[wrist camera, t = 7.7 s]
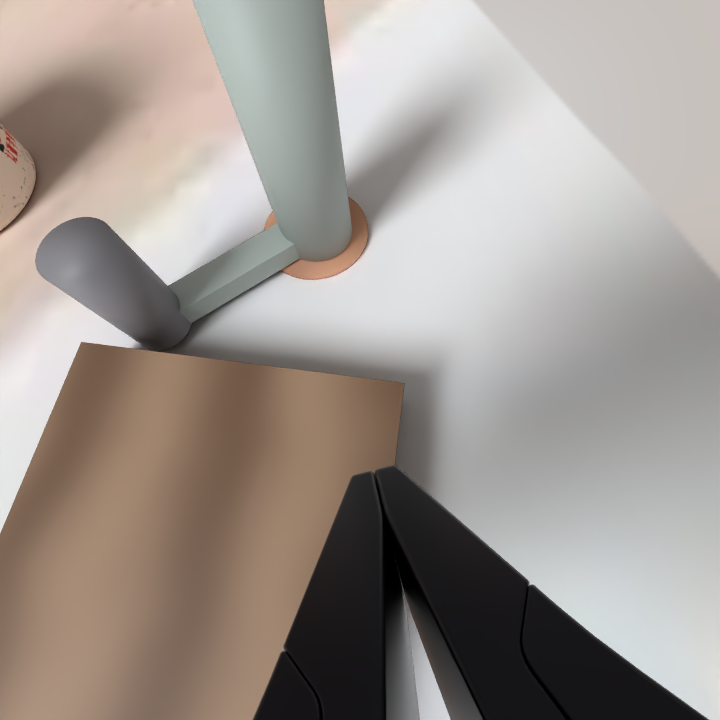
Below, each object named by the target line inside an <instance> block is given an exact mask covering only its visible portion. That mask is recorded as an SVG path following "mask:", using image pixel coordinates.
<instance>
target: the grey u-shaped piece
mask: <svg viewBox="0 0 720 720" xmlns="http://www.w3.org/2000/svg"><path fill="white" fill-rule="evenodd" d="M193 3H194V6H195V8H196V11H197V13H198V16H199V19H200V21H201V24H202V27H203V29H204V32H205V34H206V37H207V40H208V42H209V45H210V48H211V50H212V53H213V55H214V58H215V61H216V63H217V66H218V68H219V71H220V74H221V76H222V79H223V82H224V84H225V87H226V89H227V92H228V95H229V97H230V100H231V103H232V105H233V108H234V110H235V113H236V116H237V118H238V121H239V124H240V126H241V129H242V131H243V134H244V137H245V139H246V142H247V145H248V147H249V150H250V152H251V155H252V158H253V160H254V163H255V165H256V168H257V171H258V173H259V176H260V179H261V181H262V184H263V186H264V189H265V192H266V194H267V197H268V200H269V202H270V205H271V207H272V210H273V213H274V215H275V218H276V221H277V223H276V224H275V225H273V226H271V227H270V228H268V229H266V230H264V231H263V232H261V233H259V234H257V235H256V236H254V237H252V238H250V239H249V240H247V241H245V242H243V243H242V244H240V245H238V246H237V247H235V248H233V249H231V250H230V251H228V252H226V253H224V254H223V255H221V256H219V257H217V258H216V259H214V260H212V261H211V262H209V263H207V264H205V265H204V266H202V267H200V268H198V269H197V270H195V271H193V272H191V273H190V274H188V275H186V276H184V277H183V278H181V279H179V280H178V281H176V282H174V283H172V284H171V285H169V286H167V285H166V284H165V283H164V282H163V281H162V280H161V279H160V278H159V277H158V276H157V275H156V274H155V273H154V272H153V271H152V270H151V269H150V267H149V266H148V265H147V264H146V263H145V262H144V261H143V260H142V259H141V258H140V257H139V256H138V255H137V254H136V253H135V252H134V251H133V250H132V249H131V248H130V247H129V246H128V245H127V244H126V243H125V242H124V241H123V240H122V239H121V238H120V237H119V236H118V235H117V234H116V233H115V232H114V231H113V230H112V229H111V228H110V227H109V226H108V225H107V224H106V223H105V222H104V221H102V220H100V219H97V218H92V217H81V218H75V219H72V220H69V221H66V222H64V223H62V224H60V225H59V226H57V227H56V228H54V229H53V230H52V231H51V232H49V233H48V234H47V236H46V237H45V238H44V239H43V240H42V242H41V244H40V245H39V248H38V250H37V253H36V260H35V262H36V267H37V270H38V272H39V274H40V275H41V276H42V277H43V278H44V279H46V280H47V281H49V282H50V283H52V284H53V285H55V286H56V287H57V288H59V289H60V290H62V291H63V292H65V293H66V294H68V295H69V296H71V297H72V298H74V299H75V300H77V301H78V302H80V303H81V304H83V305H84V306H86V307H87V308H89V309H90V310H92V311H93V312H95V313H96V314H97V315H99V316H100V317H102V318H103V319H105V320H106V321H108V322H109V323H111V324H112V325H114V326H115V327H117V328H118V329H120V330H121V331H123V332H124V333H126V334H127V335H129V336H130V337H132V338H133V339H135V340H136V341H137V342H139V343H140V344H142V345H143V346H145V347H147V348H149V349H153V350H164V349H168V348H170V347H173V346H175V345H176V344H178V343H179V342H180V341H182V340H183V338H184V337H185V336H186V335H187V333H188V332H189V329H190V327H191V323H193V322H194V321H196V320H198V319H199V318H201V317H203V316H204V315H206V314H208V313H209V312H211V311H213V310H214V309H216V308H218V307H219V306H221V305H223V304H224V303H226V302H228V301H229V300H231V299H233V298H234V297H236V296H238V295H239V294H241V293H243V292H244V291H246V290H248V289H249V288H251V287H253V286H255V285H256V284H258V283H260V282H261V281H263V280H265V279H266V278H268V277H270V276H271V275H273V274H275V273H276V272H278V271H280V270H281V269H283V268H285V267H286V266H288V265H290V264H291V263H293V262H295V261H296V260H298V259H302V260H305V261H310V262H320V261H325V260H329V259H331V258H333V257H335V256H337V255H338V254H340V253H341V252H342V251H343V250H344V249H345V248H346V247H347V245H348V244H349V242H350V240H351V236H352V225H351V217H350V209H349V201H348V193H347V185H346V176H345V168H344V160H343V152H342V144H341V136H340V128H339V120H338V112H337V104H336V96H335V88H334V80H333V72H332V64H331V56H330V48H329V40H328V32H327V24H326V15H325V7H324V0H193Z"/></svg>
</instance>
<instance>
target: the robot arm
mask: <svg viewBox="0 0 720 720" xmlns="http://www.w3.org/2000/svg"><path fill="white" fill-rule="evenodd" d="M397 566H398V567H397ZM398 570H399V571H398ZM399 574H400V575H399ZM400 578H401V579H400ZM401 582H402V584H401ZM402 586H403V589H404V593H405V596H406V599H407V602H408V605H409V608H410V611H411V613H412V616H413V619H414V621H415V624H416V627H417V630H418V632H419V635H420V638H421V640H422V643H423V646H424V648H425V651H426V654H427V657H428V659H429V662H430V665H431V667H432V670H433V673H434V675H435V678H436V681H437V684H438V686H439V689H440V692H441V694H442V697H443V700H444V702H445V705H446V708H447V711H448V713H449V716H450V719H451V720H709V719H707V718H706V717H704V716H703V715H702V714H700V713H699V712H698V711H696V710H695V709H693V708H692V707H691V706H689V705H688V704H686V703H685V702H684V701H682V700H681V699H679V698H678V697H677V696H675V695H674V694H672V693H671V692H670V691H668V690H667V689H666V688H664V687H663V686H661V685H660V684H659V683H657V682H656V681H654V680H653V679H652V678H650V677H649V676H647V675H646V674H645V673H643V672H642V671H641V670H639V669H638V668H637V667H635V666H634V665H633V664H631V663H630V662H629V661H627V660H626V659H624V658H623V657H622V656H620V655H619V654H618V653H616V652H615V651H614V650H612V649H611V648H610V647H608V646H607V645H606V644H604V643H603V642H602V641H600V640H599V639H598V638H596V637H595V636H594V635H593V634H591V633H590V632H589V631H588V630H586V629H585V628H584V627H583V626H582V625H580V624H579V623H578V622H577V621H576V620H574V619H573V618H572V617H571V616H569V615H568V614H567V613H566V612H565V611H563V610H562V609H561V608H560V607H559V606H557V605H556V604H555V603H554V602H553V601H552V600H550V599H549V598H548V597H547V596H546V595H545V594H544V593H542V592H541V591H540V590H539V589H538V588H537V587H536V586H534V585H530V584H529V581H528V580H527V579H526V578H525V577H524V576H523V575H521V574H520V573H519V572H518V571H517V570H516V569H515V568H513V567H512V566H511V565H510V564H509V563H508V562H506V561H505V560H504V559H503V558H502V557H501V556H500V555H498V554H497V553H496V552H495V551H494V550H493V549H492V548H490V547H489V546H488V545H487V544H486V543H485V542H484V541H482V540H481V539H480V538H479V537H478V536H477V535H475V534H474V533H473V532H472V531H471V530H470V529H469V528H467V527H466V526H465V525H464V524H463V523H462V522H461V521H459V520H458V519H457V518H456V517H455V516H454V515H452V514H451V513H450V512H449V511H448V510H447V509H446V508H444V507H443V506H442V505H441V504H440V503H439V502H438V501H436V500H435V499H434V498H433V497H432V496H431V495H429V494H428V493H427V492H426V491H425V490H424V489H423V488H421V487H420V486H419V485H418V484H417V483H416V482H415V481H413V480H412V479H411V478H410V477H409V476H408V475H407V474H405V473H404V472H403V471H402V470H401V469H400V468H398V467H397V466H396V465H390V466H386V467H383V468H379V469H376V470H375V474H374V472H373V471H367V472H363V473H359V474H355V475H353V476H352V477H351V479H350V482H349V484H348V487H347V489H346V492H345V494H344V497H343V499H342V502H341V504H340V507H339V509H338V512H337V514H336V517H335V519H334V522H333V524H332V527H331V529H330V532H329V534H328V537H327V539H326V542H325V544H324V546H323V549H322V551H321V554H320V556H319V559H318V561H317V564H316V566H315V569H314V571H313V574H312V576H311V579H310V581H309V584H308V586H307V589H306V591H305V594H304V596H303V599H302V601H301V604H300V606H299V609H298V611H297V614H296V616H295V619H294V621H293V624H292V626H291V628H290V631H289V633H288V636H287V638H286V641H285V643H284V646H283V648H284V651H282V652H281V653H280V655H279V658H278V660H277V663H276V665H275V668H274V670H273V673H272V675H271V678H270V680H269V683H268V685H267V687H266V690H265V692H264V694H263V697H262V699H261V701H260V704H259V706H258V708H257V710H256V713H255V715H254V717H253V720H420V717H419V709H418V701H417V693H416V685H415V677H414V669H413V661H412V653H411V645H410V637H409V629H408V621H407V613H406V606H405V599H404V593H403V589H402Z"/></svg>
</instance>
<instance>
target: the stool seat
mask: <svg viewBox="0 0 720 720" xmlns="http://www.w3.org/2000/svg"><path fill="white" fill-rule="evenodd" d="M348 201H349V209H350V217H351V225H352V236H351V240H350V242H349V244H348V245H347V247H346V248H345V249H344V250H343V251H342V252H341V253H340V254H338V255H337V256H335V257H333V258H331V259H329V260H325V261H320V262H310V261H305V260H302V259H298V260H296V261H295V262H293V263H291V264H290V265H288V266H286V267H285V268H283V269H281V271H283V272H284V273H286V274H288V275H290V276H293V277H296V278H300V279H308V280H315V279H323V278H328V277H331V276H334V275H337V274H339V273H341V272H343V271H344V270H346V269H347V268H349V267H350V266H351V265H352V264H354V263H355V262H356V261H357V259H358V258H359V257H360V256H361V254H362V252H363V251H364V248H365V246H366V243H367V238H368V227H367V221H366V217H365V215H364V213H363V211H362V209H361V208H360V207H359V205H358V204H357V203H356V202H355V201H353V200H352V199H351V198H349V197H348ZM276 223H277V221H276V218H275V215H274V213H273V211H272V213H271V214H270V216H269V217H268V219H267V221H266V224H265V227H264V230H266V229H268V228H270V227H271V226H273V225H275V224H276ZM403 392H404V383H399V382H391V381H384V380H376V379H368V378H360V377H352V376H344V375H336V374H329V373H321V372H313V371H305V370H297V369H289V368H281V367H273V366H266V365H258V364H250V363H242V362H234V361H226V360H218V359H211V358H203V357H195V356H187V355H179V354H171V353H163V352H156V351H148V350H140V349H132V348H124V347H116V346H108V345H100V344H93V343H85V342H81V344H80V346H79V349H78V351H77V353H76V356H75V358H74V360H73V363H72V365H71V368H70V370H69V372H68V375H67V377H66V379H65V382H64V384H63V386H62V389H61V391H60V394H59V396H58V398H57V401H56V403H55V405H54V408H53V410H52V413H51V415H50V417H49V420H48V422H47V424H46V427H45V429H44V431H43V434H42V436H41V439H40V441H39V443H38V446H37V448H36V450H35V453H34V455H33V457H32V460H31V462H30V465H29V467H28V469H27V472H26V474H25V476H24V479H23V481H22V484H21V486H20V488H19V491H18V493H17V495H16V498H15V500H14V502H13V505H12V507H11V510H10V512H9V514H8V517H7V519H6V521H5V524H4V526H3V529H2V531H1V533H0V720H253V717H254V715H255V713H256V710H257V708H258V706H259V704H260V701H261V699H262V697H263V694H264V692H265V690H266V687H267V685H268V683H269V680H270V678H271V675H272V673H273V670H274V668H275V665H276V663H277V660H278V658H279V655H280V653H281V652H282V651H284V648H283V646H284V643H285V641H286V638H287V636H288V633H289V631H290V628H291V626H292V624H293V621H294V619H295V616H296V614H297V611H298V609H299V606H300V604H301V601H302V599H303V596H304V594H305V591H306V589H307V586H308V584H309V581H310V579H311V576H312V574H313V571H314V569H315V566H316V564H317V561H318V559H319V556H320V554H321V551H322V549H323V546H324V544H325V542H326V539H327V537H328V534H329V532H330V529H331V527H332V524H333V522H334V519H335V517H336V514H337V512H338V509H339V507H340V504H341V502H342V499H343V497H344V494H345V492H346V489H347V487H348V484H349V482H350V479H351V477H352V476H353V475H355V474H359V473H363V472H367V471H373V472H374V474H375V470H376V469H379V468H383V467H386V466H390V465H395V458H396V450H397V441H398V433H399V425H400V417H401V408H402V400H403Z"/></svg>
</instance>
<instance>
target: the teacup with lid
mask: <svg viewBox="0 0 720 720" xmlns="http://www.w3.org/2000/svg"><path fill="white" fill-rule="evenodd" d="M35 180H36V169H35V164H34V162H33V159H32V157H31V155H30V154H29V152H28V151H27V150H26V149H25V148H24V147H23V146H22V145H21V144H20V143H19V142H18V141H17V140H16V139H15V138H14V137H13V136H12V135H11V134H10V133H9V132H8V131H7V130H6V129H5V128H4V127H3V126H2V125H1V124H0V231H1V230H2V229H3V228H5V227H6V226H7V225H8V224H9V223H10V222H11V221H13V220H14V219H15V218H16V216H17V215H18V214H19V213H20V212H21V211H22V209H23V208H24V207H25V205H26V204H27V202H28V200H29V198H30V196H31V194H32V192H33V189H34V185H35Z"/></svg>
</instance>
